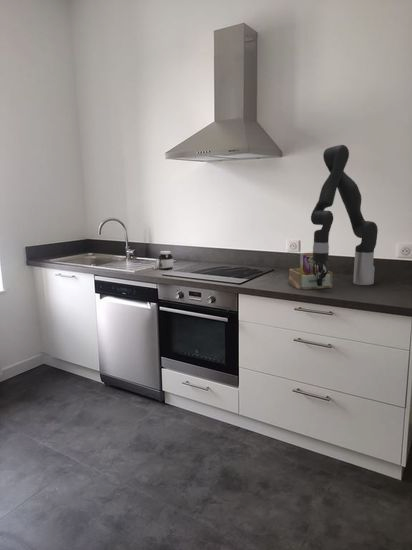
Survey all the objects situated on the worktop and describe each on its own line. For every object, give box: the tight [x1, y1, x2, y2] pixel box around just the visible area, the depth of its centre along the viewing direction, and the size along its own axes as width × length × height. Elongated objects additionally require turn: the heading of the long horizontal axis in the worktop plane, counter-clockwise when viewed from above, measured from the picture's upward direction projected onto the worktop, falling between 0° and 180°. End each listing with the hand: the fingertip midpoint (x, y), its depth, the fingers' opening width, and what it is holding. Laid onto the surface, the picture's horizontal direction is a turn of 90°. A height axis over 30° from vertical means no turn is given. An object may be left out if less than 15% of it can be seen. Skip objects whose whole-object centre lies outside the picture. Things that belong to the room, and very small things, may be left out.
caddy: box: [288, 268, 333, 290], centre depth 216 cm, size 18×14×8 cm
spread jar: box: [153, 250, 174, 271], centre depth 268 cm, size 12×11×12 cm
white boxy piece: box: [301, 274, 330, 288], centre depth 214 cm, size 15×15×6 cm
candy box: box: [299, 252, 315, 276], centre depth 216 cm, size 9×4×15 cm, turn 98°
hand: (319, 285), depth 205 cm, fingers closed
